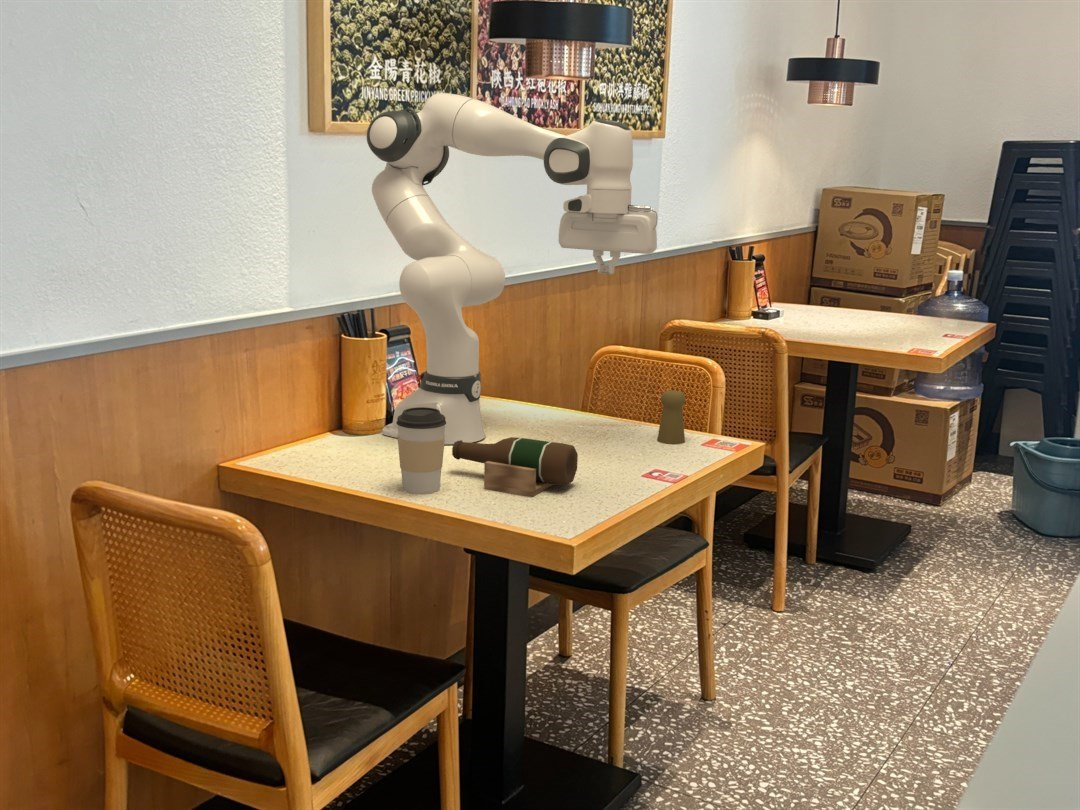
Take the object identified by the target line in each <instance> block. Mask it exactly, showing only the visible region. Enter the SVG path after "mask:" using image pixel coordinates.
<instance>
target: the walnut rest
mask: <svg viewBox="0 0 1080 810" xmlns="http://www.w3.org/2000/svg"><path fill="white" fill-rule="evenodd" d="M483 465H484V468H483V469H484V471H483V473H484V477H483V478H484V479H483V483H484V484H483V489H484V490H488V491H489V490H490V491H494V492H495V491H496V492H502V493H508V494H511V495H512V494H513V495H518V496H524V497H531V498H534V497H535V496H537V495H539V494H540V493H542V492H543V491H546V490H547V489H549V488H550V487H552V486H553V485H554V484H548V483H541V482H536V469H533V468H527V467H521V466H515V465H509V464H503V463H496V462H490V461H487V462H485V464H484V463H483Z"/></svg>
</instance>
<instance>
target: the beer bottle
mask: <svg viewBox="0 0 1080 810" xmlns="http://www.w3.org/2000/svg"><path fill="white" fill-rule="evenodd" d="M452 445H453V446H452V448H451V455H452V456H453V458H454V459H456V460H457V461H459V460H461V459H462V460H467V461H472V462H475V463H481V464H483V465H484V464H485V462H487V461H490V462H496V463H503V464H509V465H515V466H521V467H527V468H533V469H536V482H541V483H548V484H554V485H556V486H568V485H569V484H571V483H572V482H574V479H575V477H576V473H577V471H578V459H579V456H578V451H577V449H576V447H575V446H574V445H573V444H568V443H563V442H562V443H560V442H554V441H548V440H547V441H546V440H541V439H540V440H539V439H532V438H526V437H515V436H514V437H508V438H503V439H501V440H499V441H497V442H495V443H483V442H482V443H481V442H480V443H478V442H472V443H468V442H463V441H462V440H460V441H456V442H454V444H452Z"/></svg>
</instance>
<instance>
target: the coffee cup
mask: <svg viewBox="0 0 1080 810" xmlns="http://www.w3.org/2000/svg"><path fill="white" fill-rule="evenodd" d="M396 424H397V425H398V438H397V444H398V445H397V446H398V457H399V458H398V459H399V468H400V471H401V472H400V473H401V484H402V490H403V492H405V493H408V494H413V495H428V494H433V493H434V494H435V493H436V492H438V491H440V489H441V478H442V477H441V476H442V468H443V463H444V462H443V461H444V451H445V445H444V441H445V435H444V431H445V424H446V421H445V416H444V415H442V414H441V413H440V411H439V410H438V409H435V408H427V407H417V408H409V409H406V410H404V411H403V413H402V415H400V416H398V418H397V422H396Z"/></svg>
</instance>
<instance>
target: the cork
mask: <svg viewBox="0 0 1080 810" xmlns="http://www.w3.org/2000/svg"><path fill="white" fill-rule="evenodd" d="M660 401H661V404H662V410H661V417H660V422H659V428H658V434H657V439H656V440H657V441H658V442H659V443H660V444H661V443H662V444H665V445H682V444H684V443H685V442H686V440H685V439H686V438H685V427H684V425H685V423H684V412H683V407H684V405H685V403H686V395H685V393H684V392H682V391H680V390H671V389H670V390H665V391H663V393H661V397H660Z"/></svg>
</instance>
